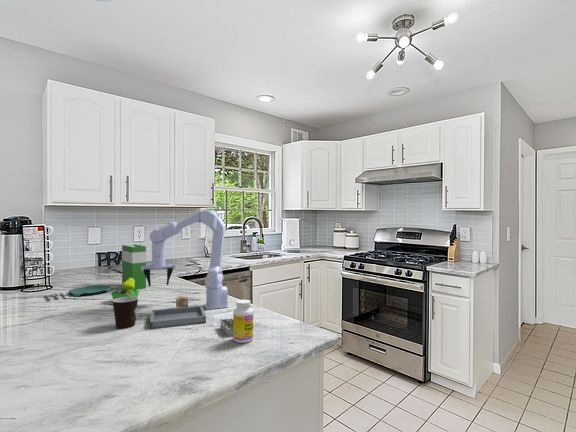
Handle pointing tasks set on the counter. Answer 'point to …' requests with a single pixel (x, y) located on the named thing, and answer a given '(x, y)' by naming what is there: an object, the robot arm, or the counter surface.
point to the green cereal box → (134, 265)
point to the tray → (177, 317)
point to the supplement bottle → (243, 322)
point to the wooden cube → (181, 301)
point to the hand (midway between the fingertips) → (158, 285)
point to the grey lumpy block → (227, 326)
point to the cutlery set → (84, 291)
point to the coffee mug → (125, 311)
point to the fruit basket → (126, 290)
